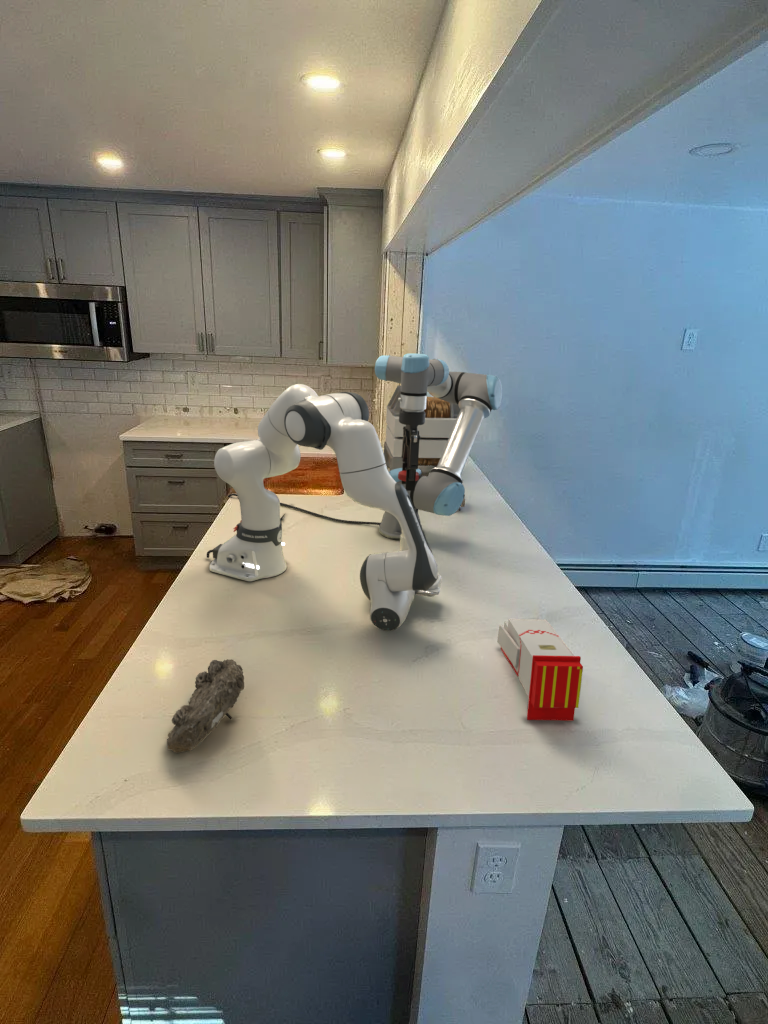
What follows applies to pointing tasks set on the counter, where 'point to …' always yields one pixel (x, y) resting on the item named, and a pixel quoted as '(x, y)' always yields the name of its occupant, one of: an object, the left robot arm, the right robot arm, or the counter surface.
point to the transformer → (420, 431)
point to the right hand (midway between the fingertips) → (407, 486)
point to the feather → (281, 518)
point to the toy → (542, 668)
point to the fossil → (206, 705)
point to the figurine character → (462, 503)
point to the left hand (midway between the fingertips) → (408, 568)
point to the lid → (403, 475)
